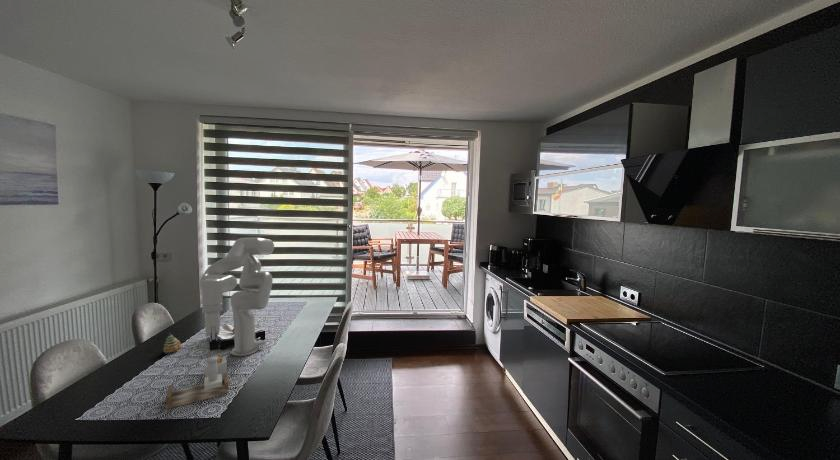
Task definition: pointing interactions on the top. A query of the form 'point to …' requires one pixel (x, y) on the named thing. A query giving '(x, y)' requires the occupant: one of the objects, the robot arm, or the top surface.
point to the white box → (218, 367)
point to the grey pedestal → (212, 374)
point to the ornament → (171, 345)
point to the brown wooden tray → (194, 394)
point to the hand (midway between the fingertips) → (214, 349)
